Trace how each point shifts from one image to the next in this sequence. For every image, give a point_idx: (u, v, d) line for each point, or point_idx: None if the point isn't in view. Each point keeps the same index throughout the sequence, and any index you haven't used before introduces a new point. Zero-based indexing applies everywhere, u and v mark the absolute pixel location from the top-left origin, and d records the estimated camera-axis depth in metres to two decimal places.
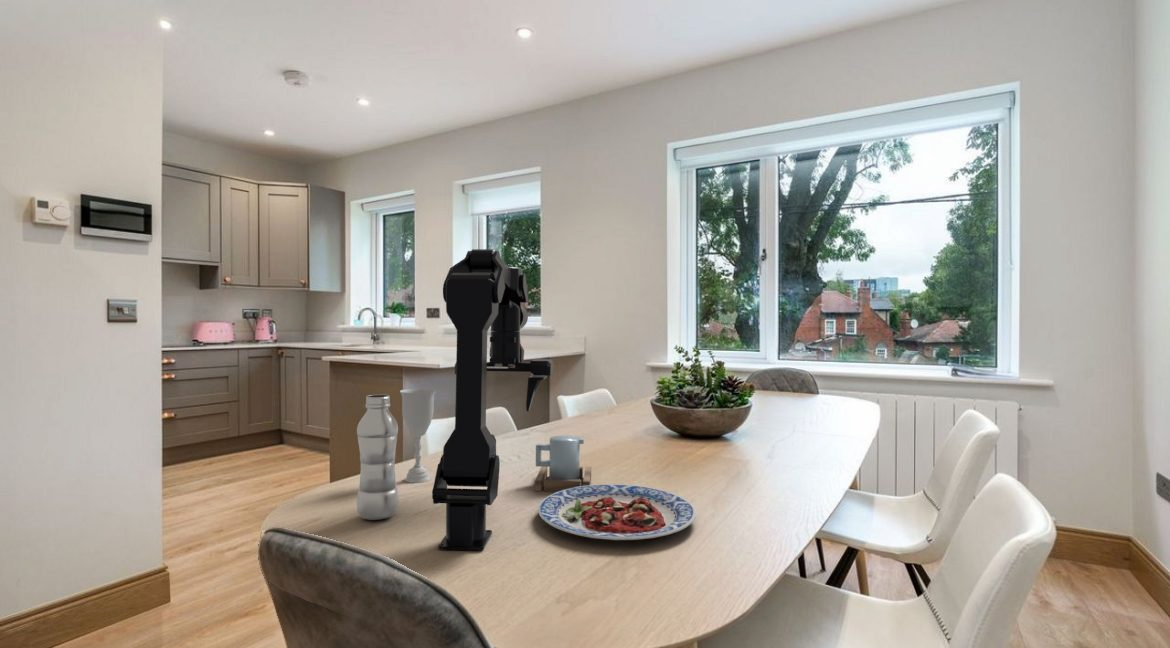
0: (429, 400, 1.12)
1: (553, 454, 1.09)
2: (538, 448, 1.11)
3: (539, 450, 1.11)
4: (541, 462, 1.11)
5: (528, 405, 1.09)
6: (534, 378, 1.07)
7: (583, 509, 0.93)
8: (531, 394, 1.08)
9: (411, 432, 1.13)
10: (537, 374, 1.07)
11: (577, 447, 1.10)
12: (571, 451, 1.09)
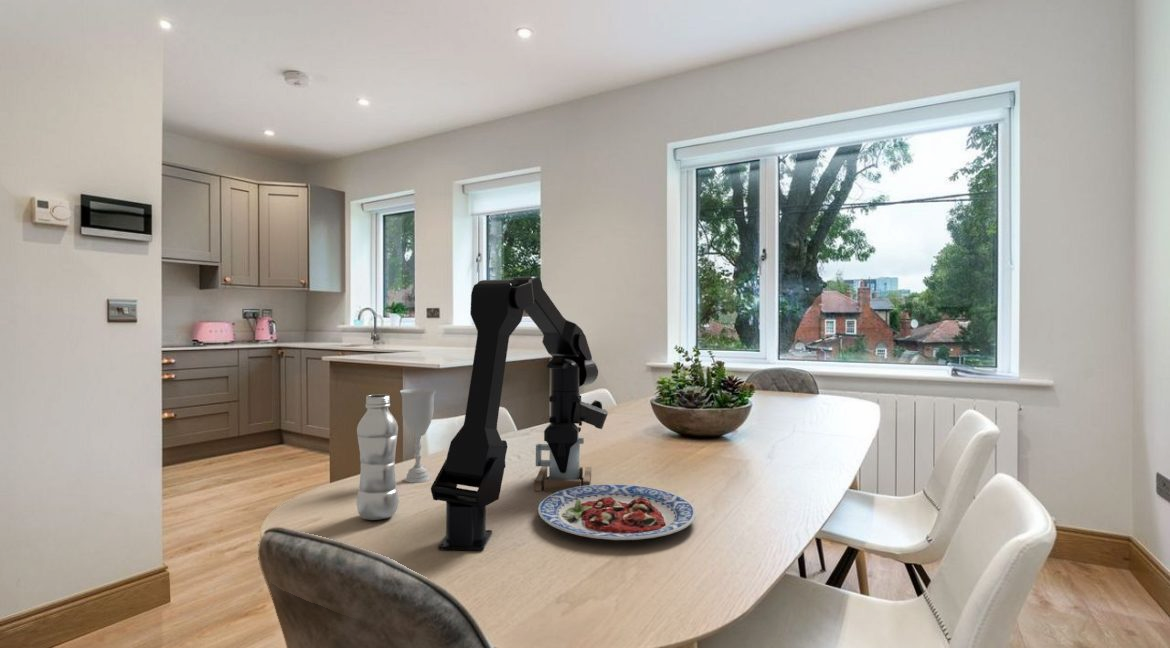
0: (429, 400, 1.12)
1: None
2: (538, 448, 1.11)
3: (539, 450, 1.11)
4: (541, 462, 1.11)
5: None
6: None
7: (583, 509, 0.93)
8: None
9: (411, 432, 1.13)
10: None
11: (577, 447, 1.10)
12: (571, 450, 1.09)
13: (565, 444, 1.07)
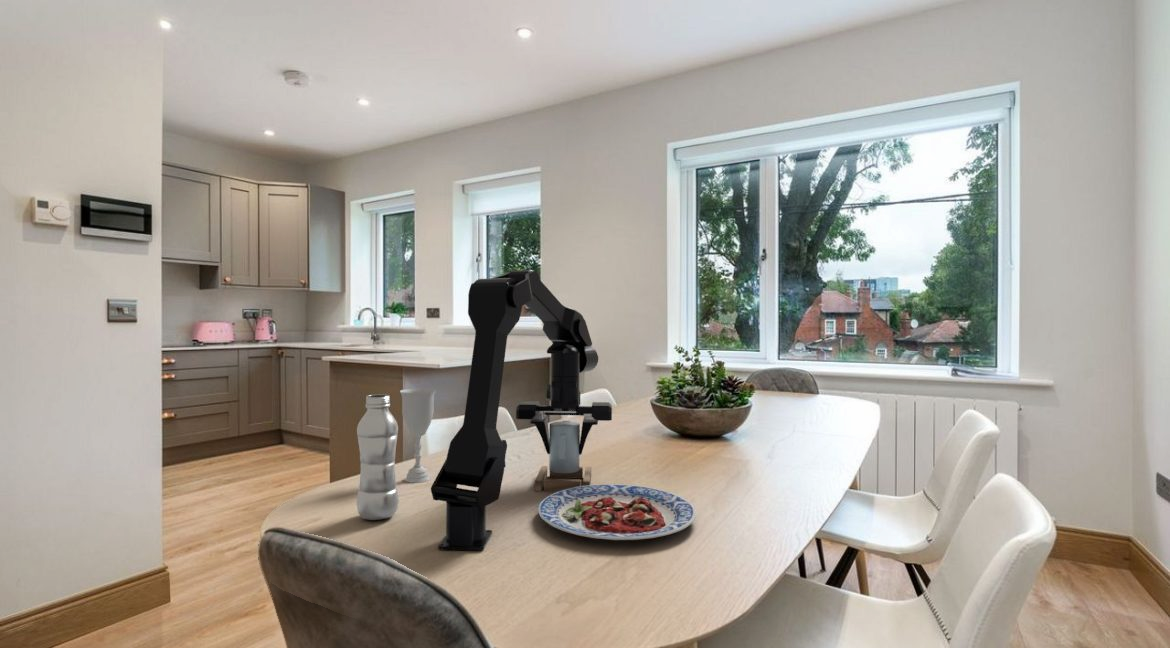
0: (429, 400, 1.12)
1: (575, 440, 1.09)
2: (565, 439, 1.06)
3: (565, 441, 1.07)
4: (565, 453, 1.07)
5: (581, 449, 1.10)
6: (588, 423, 1.08)
7: (583, 509, 0.93)
8: (585, 438, 1.09)
9: (411, 432, 1.13)
10: (599, 419, 1.08)
11: None
12: None
13: None
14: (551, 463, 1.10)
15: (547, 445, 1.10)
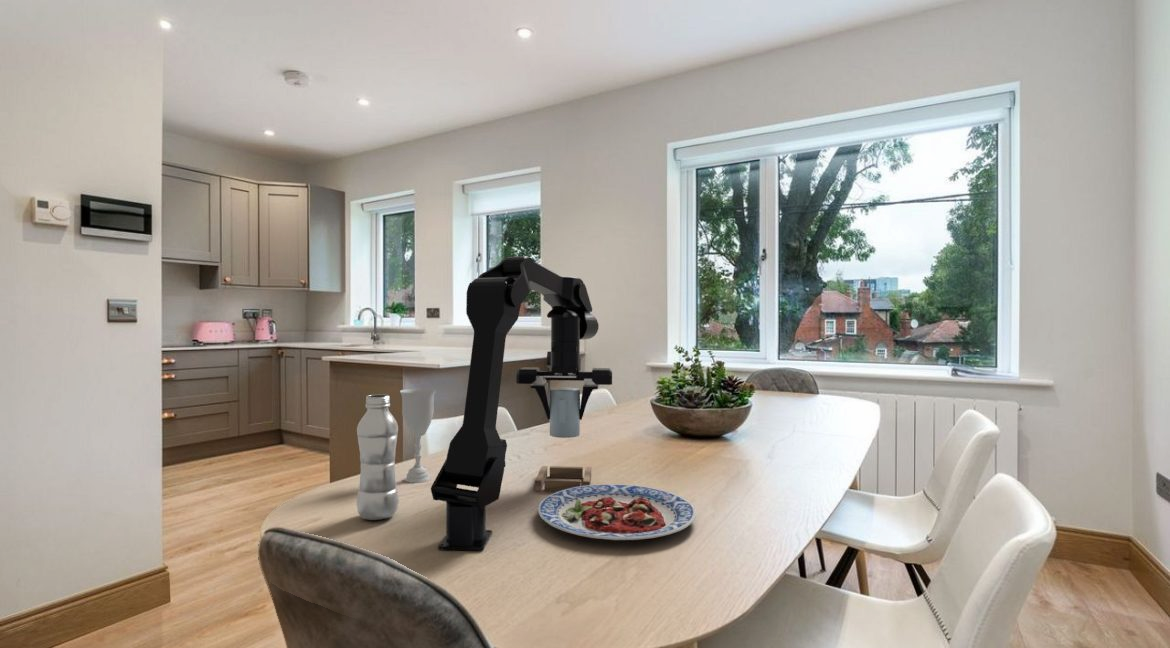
0: (429, 400, 1.12)
1: (575, 404, 1.09)
2: (565, 403, 1.06)
3: (565, 405, 1.06)
4: None
5: (581, 414, 1.10)
6: (589, 387, 1.08)
7: (583, 509, 0.93)
8: (585, 403, 1.09)
9: (411, 432, 1.13)
10: (599, 383, 1.08)
11: None
12: None
13: None
14: (551, 428, 1.10)
15: (547, 410, 1.10)
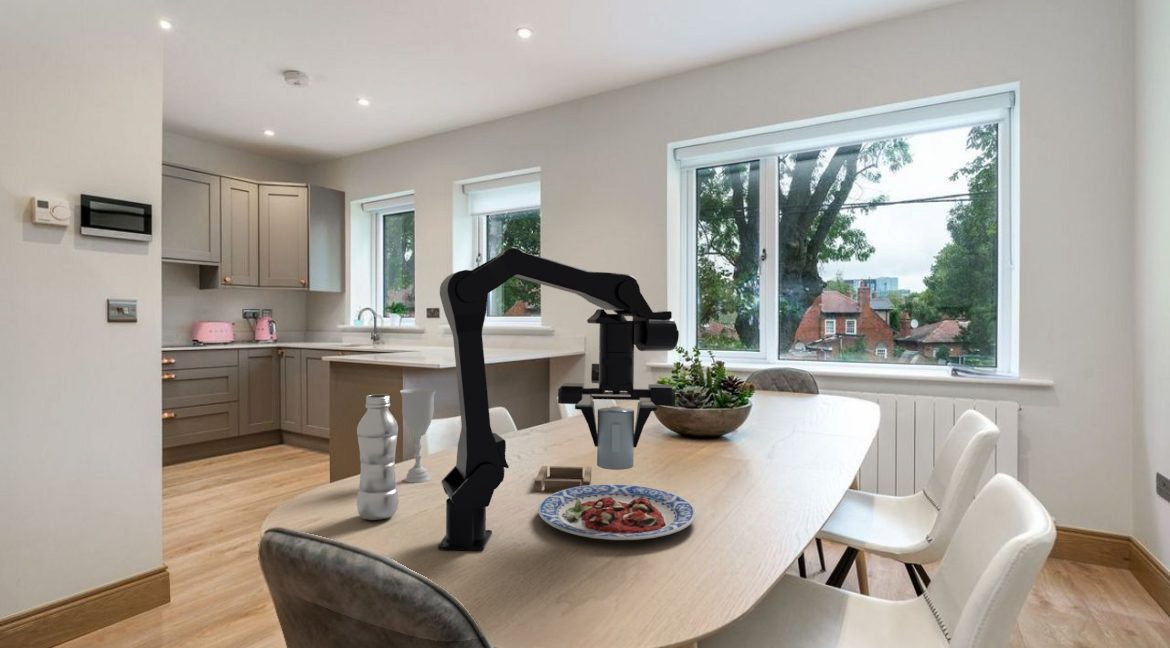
0: (429, 400, 1.12)
1: (629, 429, 0.90)
2: (619, 428, 0.87)
3: None
4: None
5: (636, 440, 0.91)
6: (647, 408, 0.89)
7: (583, 509, 0.93)
8: (641, 427, 0.90)
9: (411, 432, 1.13)
10: (660, 404, 0.89)
11: None
12: None
13: None
14: (600, 457, 0.90)
15: (595, 436, 0.91)
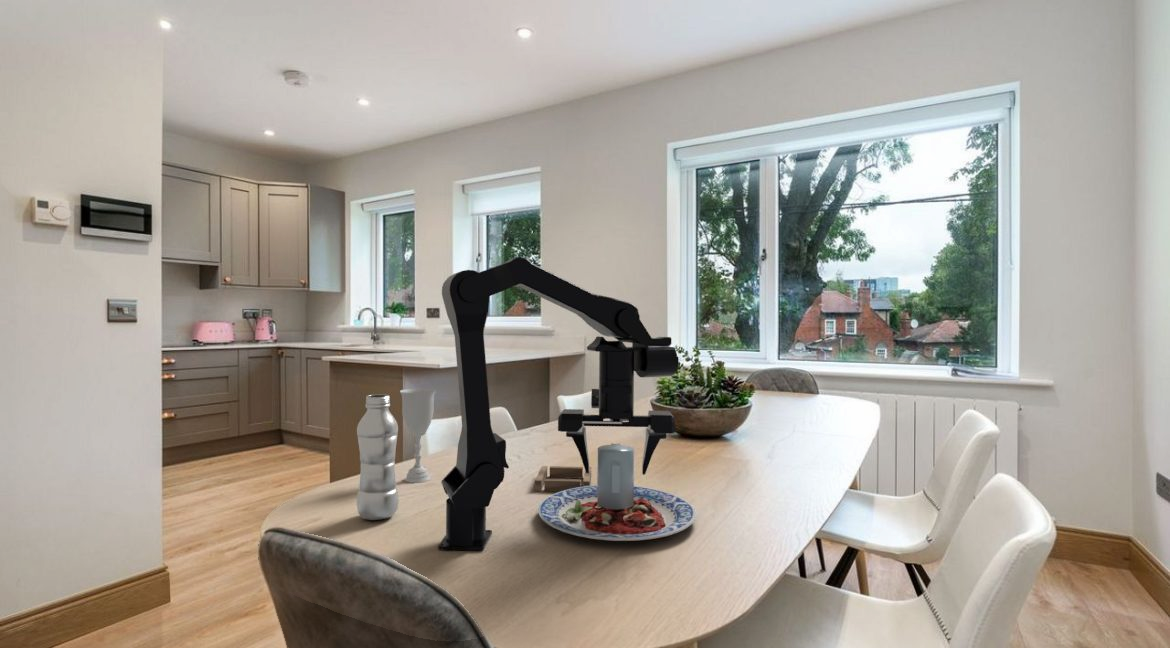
0: (429, 400, 1.12)
1: (629, 468, 0.90)
2: (619, 468, 0.87)
3: None
4: None
5: (645, 467, 0.91)
6: (656, 436, 0.89)
7: (583, 510, 0.93)
8: (650, 455, 0.90)
9: (411, 432, 1.13)
10: (660, 432, 0.89)
11: None
12: None
13: None
14: (600, 496, 0.91)
15: (586, 463, 0.91)
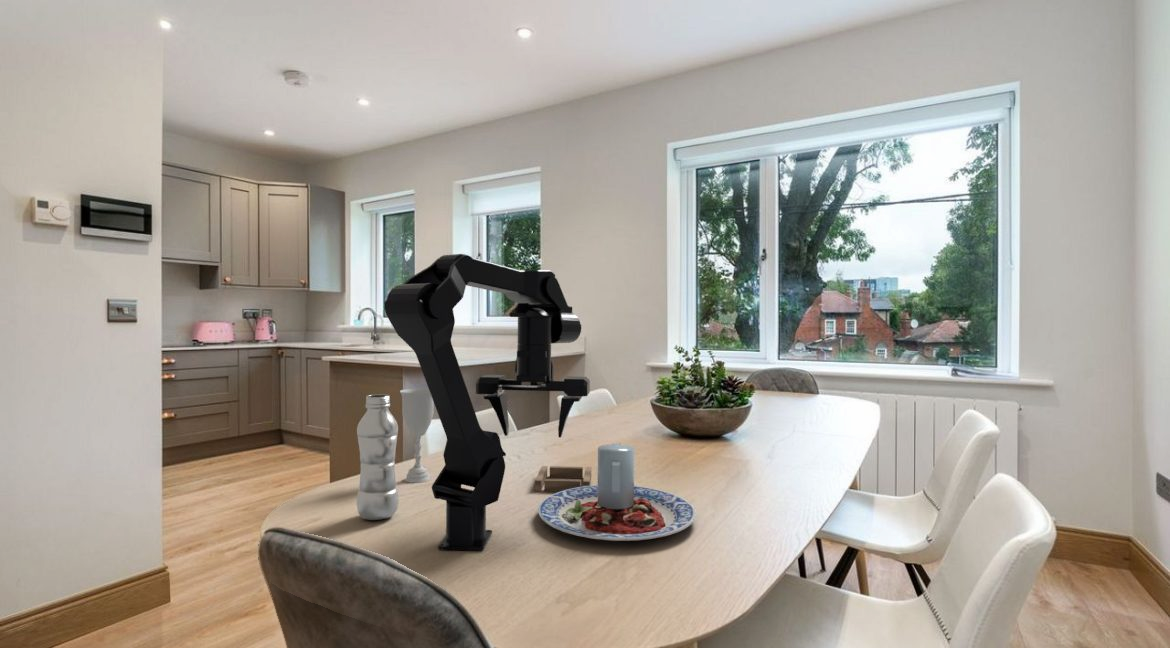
0: (429, 400, 1.12)
1: (629, 468, 0.90)
2: (619, 468, 0.87)
3: None
4: None
5: (560, 430, 0.94)
6: (568, 399, 0.92)
7: (583, 510, 0.93)
8: (564, 418, 0.93)
9: (411, 432, 1.13)
10: (572, 395, 0.92)
11: None
12: None
13: None
14: (600, 496, 0.91)
15: (504, 425, 0.94)
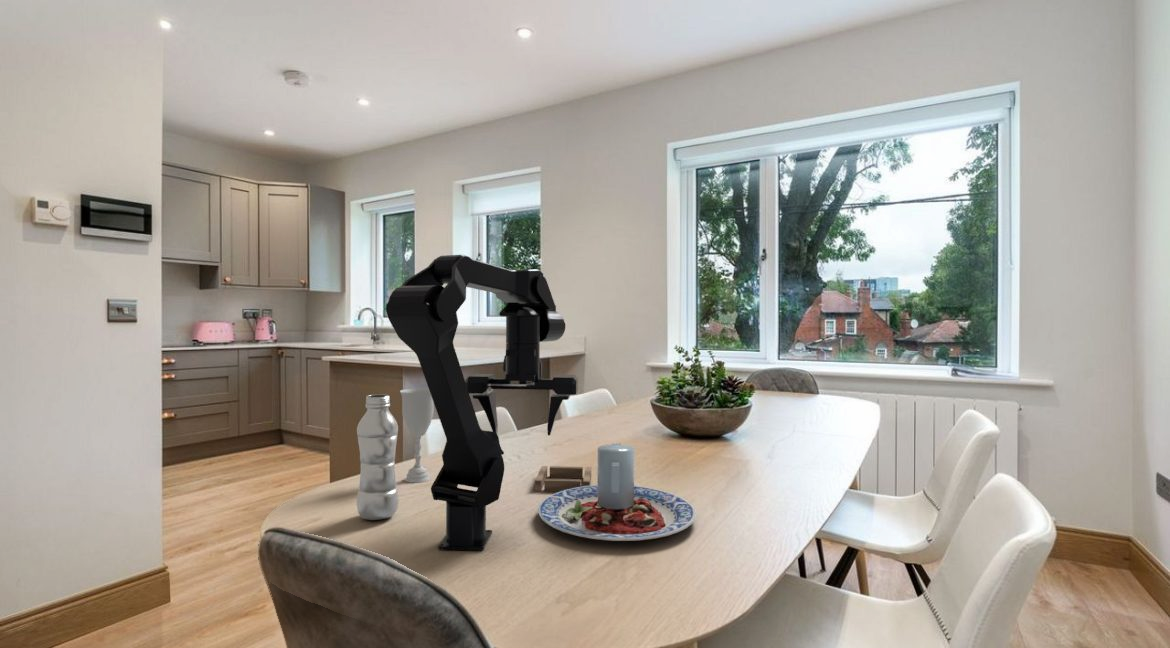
0: (429, 400, 1.12)
1: (629, 468, 0.90)
2: (619, 468, 0.87)
3: None
4: None
5: (550, 428, 0.95)
6: (557, 398, 0.92)
7: (583, 510, 0.93)
8: (553, 416, 0.94)
9: (411, 432, 1.13)
10: (561, 393, 0.92)
11: None
12: None
13: None
14: (600, 496, 0.91)
15: (493, 424, 0.95)
